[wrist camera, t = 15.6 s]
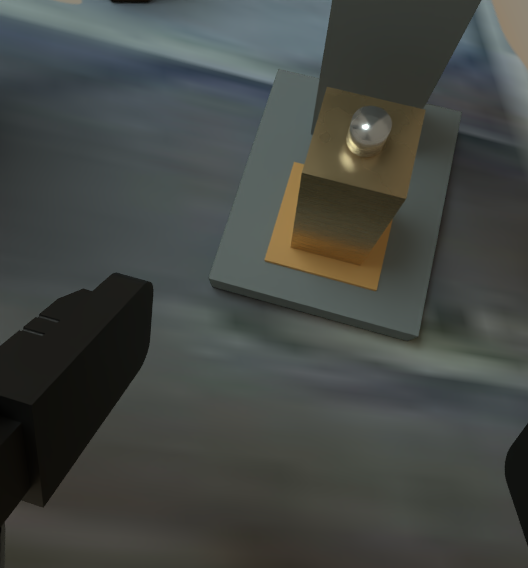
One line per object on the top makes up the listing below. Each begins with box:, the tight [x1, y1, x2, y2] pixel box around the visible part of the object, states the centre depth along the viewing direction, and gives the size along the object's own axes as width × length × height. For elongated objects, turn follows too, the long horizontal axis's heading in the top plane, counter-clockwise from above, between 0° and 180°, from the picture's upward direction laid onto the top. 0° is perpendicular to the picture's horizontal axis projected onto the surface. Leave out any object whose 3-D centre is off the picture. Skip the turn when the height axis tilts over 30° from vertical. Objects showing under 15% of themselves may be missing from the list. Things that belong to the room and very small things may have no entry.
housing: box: [290, 87, 426, 266], centre depth 22 cm, size 4×4×10 cm
